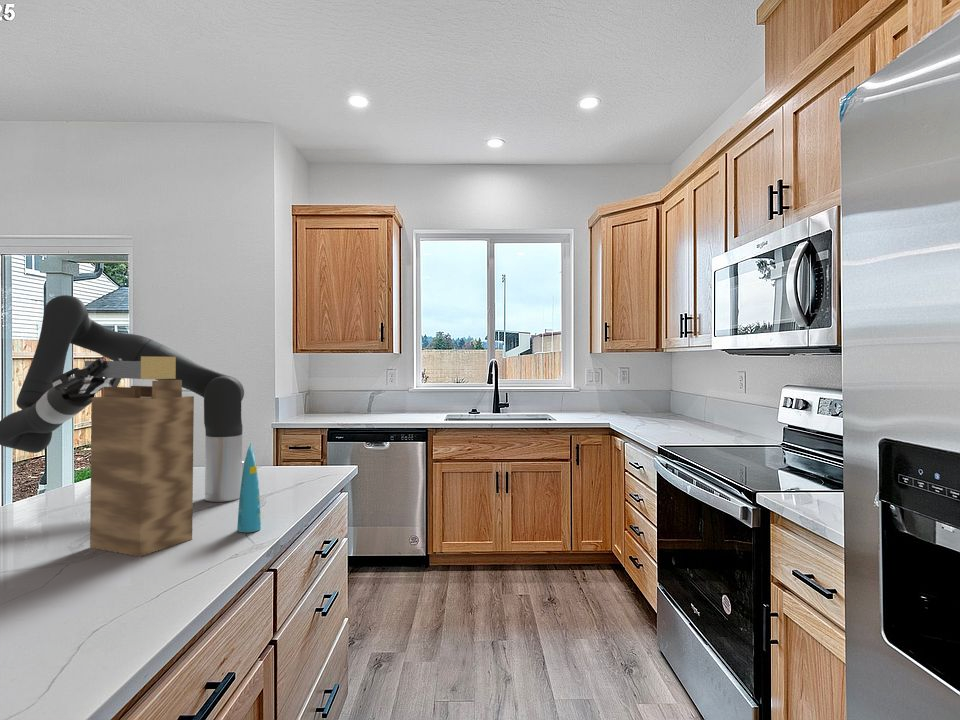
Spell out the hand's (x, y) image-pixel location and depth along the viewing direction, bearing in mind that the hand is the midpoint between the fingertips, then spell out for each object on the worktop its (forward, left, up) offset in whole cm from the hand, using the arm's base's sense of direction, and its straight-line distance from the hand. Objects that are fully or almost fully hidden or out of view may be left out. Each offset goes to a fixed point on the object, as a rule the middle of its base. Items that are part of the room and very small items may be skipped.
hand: (112, 362), depth 122 cm
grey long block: (0, +5, -3) cm, 6 cm away
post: (0, +10, -37) cm, 38 cm away
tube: (-16, +23, -37) cm, 46 cm away
